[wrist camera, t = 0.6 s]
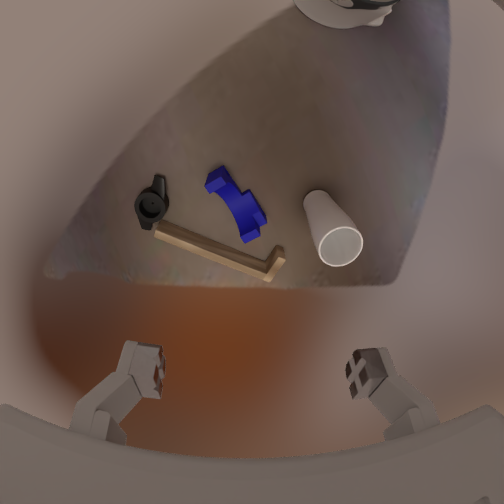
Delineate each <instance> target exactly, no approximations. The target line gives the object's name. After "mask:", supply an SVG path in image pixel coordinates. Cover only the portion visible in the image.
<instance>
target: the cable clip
mask: <svg viewBox="0 0 504 504" xmlns="http://www.w3.org/2000/svg"><path fill="white" fill-rule="evenodd" d="M205 188H206V189H207V191H208V192H209V194H210V193H212V192H216V193H217V194H218V195H219V196H220V197H221V198H222V199H223V200H224V201H225V203H226V204H227V205H228V207H229V209H230V210H231V212H232V214H233V216H234V218H235V220H236V222H237V225H238V228H239V232H240V237H241V239H242V240H243V242H244V243H247V242H249V241H251V240H253V239H255V238H257V237H259V236H260V226H262V225H264V224H266V223H267V219H266V215H265V213H264V212H263V210H262V209H261V207H260V205H259V204H258V202H257V201H256V199H255V197H254V196H253V194H252V193H251V191H250V189H249V190H247V191H245V192H243V193H241V191H240V190H239V188H238V187H237V185H236V184H235V182H234V181H233V179H232V178H231V176H230V174H229V173H228V171H227V170H226V168H225V167H224V165H223V166H221V167H220V168H218V169H216V170H214V171H213V172H211V173H209V174H208V177H207V180H206V183H205Z"/></svg>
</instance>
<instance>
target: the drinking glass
mask: <svg viewBox="0 0 504 504" xmlns="http://www.w3.org/2000/svg"><path fill="white" fill-rule="evenodd" d="M303 208H304V211H305V213H306V216H307V220H308V224H309V228H310V232H311V236H312V240H313V243H314V245H315V248H316V250H317V252H318V254H319V256H320V258H321V260H322V261H323V262H324V263H326V264H328V265H330V266H343V265H346V264H348V263H350V262H352V261H353V260H354V259H356V258H357V256H358V255H359V254H360V252H361V250H362V247H363V238H362V236H361V234H360V232H359V230H358V228H357V227H356V225H355V224H354V222H353V221H352V220H351V218H350V217H349V216H348V215H347V214H346V213H345V212H344V211H343V210H342V209H341V208H340V207H339V206H338V205H337V204H336V202H335V201H334V200H333V199H332V198H331V197H330V195H329V194H328V193H326V192H325V191H322V190H314V191H312V192H310V193H309V194H307V196H306V197H305V199H304V201H303Z"/></svg>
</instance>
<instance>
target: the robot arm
mask: <svg viewBox="0 0 504 504" xmlns="http://www.w3.org/2000/svg"><path fill="white" fill-rule="evenodd" d="M293 1H294V3H295V4H296V6H297V7H298V8H299V9H300V10H301V11H302V12H303V13H304V14H305V15H306V16H307V17H309V18H310V19H312V20H314V21H315V22H317V23H320V24H322V25H325V26H328V27H332V28H338V29H348V28H354V27H357V26H361V25H367V26H374V27H377V26H380V25H381V24H382V23H383V20H384V17H385V15H387V14H389V13H391V11H392V9H391V8H392V5H394V4H395V3H397V2H398V1H400V0H293ZM493 1H494V2H495V3H496V4H497V5H498V6H499V7H500V8H502V9H503V10H504V0H493ZM162 354H163V347H162V345H155V344H148V343H141V342H135V341H126V343H125V344H124V347H123V350H122V354H121V357H120V360H119V363H118V367H117V370H116V372H112V373H111V374H110V375H109V376H107V377H106V378H105V379H104V380H103V381H102V382H100V383H99V384H98V385H97V386H96V387H95V388H93V389H92V390H91V391H90V392H89V393H87V394H86V395H85V396H84V397H83V398H82V399H81V400H79V401H78V402H77V403H76V406H75V410H74V413H73V416H72V420H71V424H70V427H69V429H66V428H63V427H60V426H57V425H55V424H52V423H49V422H47V421H44V420H42V419H39V418H37V417H35V416H32V415H30V414H28V413H25V412H23V411H21V410H19V409H17V408H15V407H13V406H11V405H8V404H2V405H0V504H504V416H503V415H502V414H501V413H500V412H498V411H497V410H496V409H495V408H493V407H492V406H490V405H483V406H481V407H479V408H477V409H475V410H472V411H470V412H468V413H466V414H464V415H461V416H459V417H457V418H454V419H452V420H449V421H446V422H444V423H441V424H440V421H439V418H438V416H437V413H436V410H435V407H434V405H433V402H432V401H431V400H429V399H428V398H427V397H426V396H425V395H423V394H422V393H421V392H420V391H419V390H418V389H416V388H415V387H414V386H413V385H412V384H410V383H409V382H408V381H407V380H406V379H405V378H403V377H402V376H401V375H398V374H397V371H396V369H395V366H394V364H393V361H392V359H391V357H390V354H389V352H388V349H387V348H385V347H382V348H368V349H357V350H355V351H354V352H353V354H352V355H353V358H351V359H350V360H349V361H348V362H347V364H346V369H345V371H346V377H347V380H348V381H349V382H351V385H350V387H349V389H350V392H351V396H352V399H361V398H368V399H369V400H370V401H371V402H372V403H373V404H374V406H375V407H376V408H377V409H378V410H379V411H380V412H381V413H382V415H383V416H384V417H385V418H386V419H387V420H388V421H389V422H390V423H391V425H390V426H389V427H388V428H387V429H385V430H384V432H383V433H384V437H385V441H384V442H380V443H376V444H372V445H367V446H362V447H358V448H352V449H347V450H341V451H335V452H328V453H321V454H314V455H304V456H293V457H280V458H247V459H246V458H242V459H240V458H214V457H213V458H212V457H199V456H188V455H179V454H171V453H164V452H158V451H151V450H146V449H140V448H135V447H130V446H126V438H127V435H126V434H125V432H124V431H123V430H122V429H121V427H120V426H119V425H118V424H119V423H120V422H121V420H122V419H123V418H124V417H125V416H126V415H127V414H128V413H129V411H130V410H131V409H132V408H133V407H134V406H135V405H136V403H137V402H138V401H139V400H140V399H141V398H142V397H148V398H157V399H161V394H162V389H163V384H162V381H161V380H162V379H163V378H164V377H165V369H166V360H165V356H164V355H162Z"/></svg>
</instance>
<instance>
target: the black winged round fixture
mask: <svg viewBox="0 0 504 504" xmlns="http://www.w3.org/2000/svg"><path fill="white" fill-rule="evenodd" d="M153 202H154V203H153ZM168 206H169V199H168V196H167V195H166V193H165V184H164V179H163V178H162V177H159V176H156V175H154V180H153V184H152V187H149V188H146V189H145V190H143V191H142V192H141V194H140V195H139V196H138V198H137V199H136V201H135V205H134V207H135V212H136V214H137V216H138V219H139V222H140V225H141V228H142V229H145V230H151V227H152V223H154V222H158V221H159V220H161V219H162V218H163V216H164V215H165V213H166V211H167V209H168Z"/></svg>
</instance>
